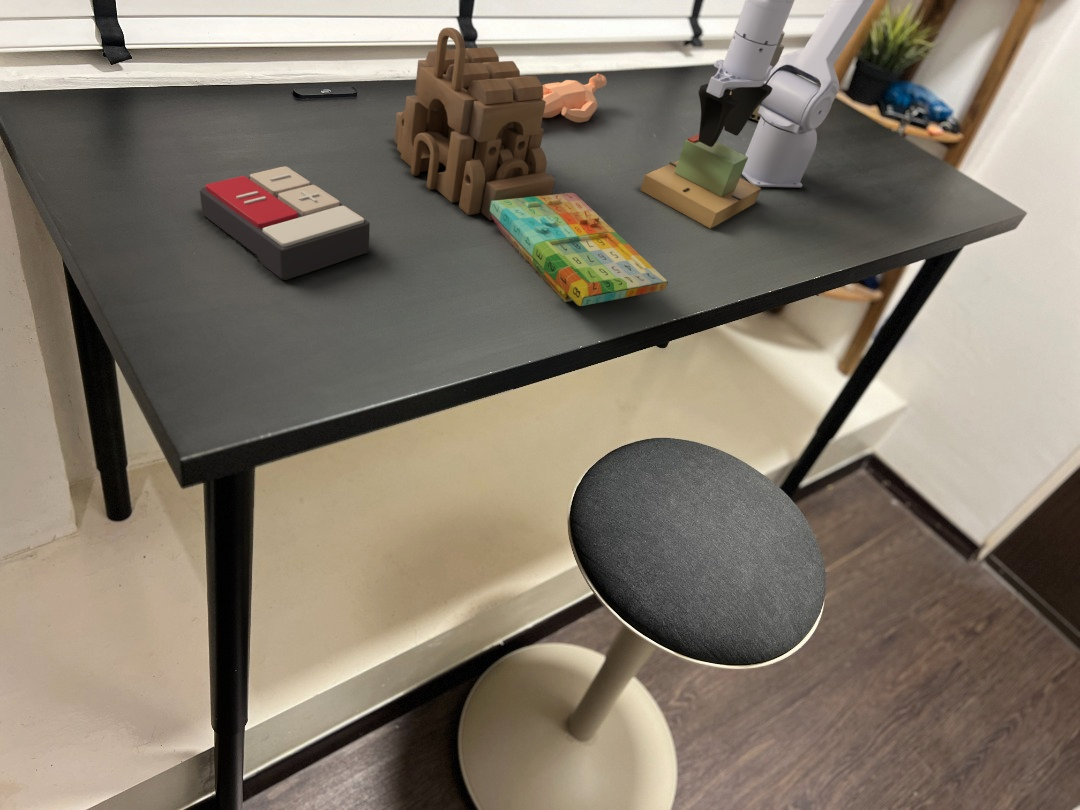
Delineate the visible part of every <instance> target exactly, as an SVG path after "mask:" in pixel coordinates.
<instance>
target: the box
mask: <svg viewBox="0 0 1080 810" xmlns="http://www.w3.org/2000/svg"><path fill="white" fill-rule="evenodd" d="M745 155H746V154H743V153H741V152H739V151H737V150H734V149H733V148H730V147H729V146H726V145H725V144H723V143H720V142H718V140H717V141H716V143H715V144H714V146H712V147H709V146H707V145H705V144H703V143H701V142H699V133H698V134H695V135H692V136H690V137H688V138H687V139H685V141H684V143H683V146H682V149H681V152H680V155H679V158H678V160H677V161H678V163H677V166H676V169H675V172H674V173H676V174H678V175H680V176H682V177H684V178H686V179H688V180H689V181H691V182H693V183H695V184H697V185H699V186H701V187H703V188H705V189H707V190H709V191H711V192H712V193H714V194H716V195H718V196H720V197H722V196H724V195H726V194H728V193H729V192H731V191H733V190H735V189H736V186H737V184H738V181H739V179H740V178H741V176H742V172H743V169H744V167H745V164H746V162H747V159H748V157H747V156H745Z"/></svg>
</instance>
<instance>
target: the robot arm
mask: <svg viewBox="0 0 1080 810" xmlns="http://www.w3.org/2000/svg"><path fill="white" fill-rule="evenodd" d="M875 2H876V0H833V1H832V2H831V4H830V6H829V7H828V8H827V11H826V12H825V13H824V15H823V17H822V19H821V20H820V22H819V23H818V25H817V27H816V28H815V30H814V32H813V33H812V34H811V36H810V38H809V40H808V41H807V43H806V44H805V46H804V47H803V48H802V49H800V50H796V51H792V52H789V53H785V54H783V55H781V56H780V59H779V61H778V63H777V64H776V65H775V67H774V68H773V69H772V66H770V62H771V59H772V57H773V54H774V52H775V49H776V47H777V44H778V41H779V39H780V36H781V34H782V31H784V28H785V26H786V22H787V21H788V18H789V15H790V13H791V10H792V9H793V6H794V4H795V0H744V3H743V5H742V9H741V12H740V14H739V18H738V19H737V22H736V25H735V29H734V32H733V35H732V38H731V40H730V43H729V46H728V49H727V52H726V54H725V56H724V57H725V58H724V59H717V60H715V61H714V64H713V67H714V68H716V69H718V70H717V71H716V73H715V75H713V76H711V77H710V80H709V83H705V84H702V85H700V87H699V90H698V98H699V103H700V124H699V133H698V134H699V142H701V143H703V144H705V145H707V146H709V147H712V146H714V144H715V143H716V141H717V142H718V141H719V138H720V136H721V134H722V132H723V129H724V131H725V132H727V133H729V134H731V135H734V136H736V137H737V136H739V135H740V133H741V132H742V131H743V129H744V128H745V126H746V125H747V123H748V121H749V120H750V119H751V118H750V117H751V115H752V114H753V112H754V111H755V109H756V108H757V107H758V106H759V107H760V109H759V111H758V113H759V114H760V115H761V117H760V120H759V121H757V122H758V123H757V124H756V128H755V130H754V133H753V135H752V138H751V140H750V142H749V145H748V148H747V150H746V152H745V154H744V155H745V156H747V157H748V159H747V162H746V164H745V167H744V169H743V172H742V174H741V176H743V178H744V179H745V180H746V181H748V182H750V183H752V184H754V185H756V186H757V187H759V188H799V189H800V188H802V187H803V186H804V185H803V184H802V179H803V176H804V174H805V173H806V170H807V168H808V166H809V164H810V162H811V159H812V158H813V156H814V153H815V152H816V148H817V143H818V135H817V130H816V129H817V128H818V127H820V125H821V124H822V123H823V122H824V121H825V119H826V118H827V116H828V114H829V113H830V111H831V108H832V105H833V103H834V101H835V99H836V97H837V95H838V94H839V91H840V83H839V82H840V81H839V78H838V75H837V72H836V69H835V64H836V62H837V60H838V59H839V58H840V56H841V55H842V53H843V51H844V50H845V48H846V47H847V45H848V43H850V41H851V38H852V37H853V36H854V34H855V32H856V31H857V30H858V28H859V26H860V25H861V23H862V22H863V20H864V19H865V17H866V15H867V14H868V12H869V11H870V9H871V8H872V6H873V4H874V3H875ZM819 85H820V86H819ZM730 92H731V95H730Z"/></svg>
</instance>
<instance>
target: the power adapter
mask: <svg viewBox="0 0 1080 810" xmlns="http://www.w3.org/2000/svg"><path fill="white" fill-rule="evenodd" d="M785 34H786V33H785V31H784V30H783V31H782V34H781V36H780V39H779V41H778V44H777V47H776V49H775V52H774V54H773V57H772V59H771V62H770V66H772V69H773V68H774V67H775V65H776V64H777V63H778V61H779V60H780V59H781V57H782V54H783V51H784V48H785V45H783V44H782V42H783V39H784V37H785Z"/></svg>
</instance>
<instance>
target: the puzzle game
mask: <svg viewBox="0 0 1080 810" xmlns="http://www.w3.org/2000/svg"><path fill="white" fill-rule="evenodd" d="M489 211H490V213H491V215H492V218H493V220H492V221H493V222H494V223H495V225H496V227H497V228H498V230H499V231H500V233H501V235H503V237H504V238H505V239H506V240H507V241H508V242H509V243H510V244H511V245H512V246H513V247H514V248H515V250H516V251H517V252H518V253H519V254H520V255H521V256H522V257H523V259H525V261H527V263H528V264H529V265H530V266H531V267H532V268H533V269H534V270H535V271H536V272H537V273H538V274H539V275H540V277H541V278H542V279H543V280H544V281H545V282H546V283H547V284H548V285H549V286H550V288H552V290H554V292H555V293H556V294H557V295H558V296H559V297H560V298H561V299H562V301H564V302H565V303H569V302H574V304H575V305H576V306H578V307H583V306H589V305H595V304H600V303H605V302H610V301H614V300H620V299H625V298H629V297H635V296H640V295H645V294H651V293H656V292H660V291H666V290H667V286H668V285H669V284H668V283H669V281H668V280H667V279H666V278H665V277H664V276H663V275H662V274H660V272H658V270H656V269H655V268H654V267H653V266H652V265H651V264H650V263H649V262H648V261H647V260H646V259H645V258H644V257H643V256H642V255H641V254H640V253H639V252H637V251H636V250H635V249H634V248H633V247H632V246H631V245H630V244H629V243H628V242H627V241H626V240H625V239H624V238H623V237H622V236H621V235H620V234H618V233H617V232H616V231H615V229H613V227H611V226H610V225H609V224H608V223H607V222H606V221H605V220H604V219H603V218H602V217H601V216H600V215H598V214H597V213H596V211H594V210H593V209H592V208H591V207H590V206H589V205H588V204H587V203H586V202H585V201H584V200H583V199H582V198H581V197H579V195H577V193H574V192H564V193H557V194H556V193H555V194H553V193H552V195H544V196H534V197H524V198H515V199H505V200H495V201H491V203H490V209H489Z"/></svg>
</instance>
